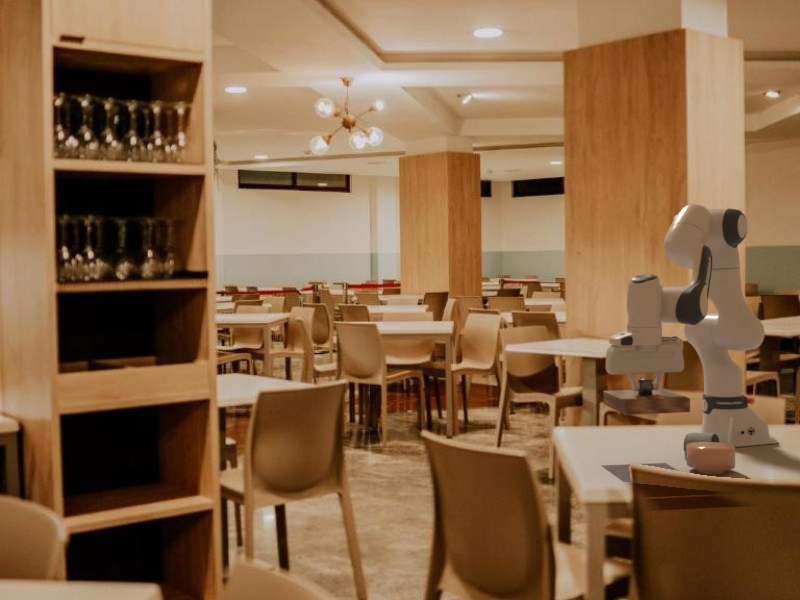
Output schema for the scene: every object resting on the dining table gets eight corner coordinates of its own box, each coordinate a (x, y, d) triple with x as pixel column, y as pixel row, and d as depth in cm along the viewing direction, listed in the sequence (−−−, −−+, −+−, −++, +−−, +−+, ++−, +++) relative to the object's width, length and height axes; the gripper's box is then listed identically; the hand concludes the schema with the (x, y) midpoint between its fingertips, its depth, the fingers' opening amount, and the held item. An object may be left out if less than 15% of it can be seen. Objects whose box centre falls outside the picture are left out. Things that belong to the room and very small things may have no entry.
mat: (665, 464, 253) (665, 462, 253) (692, 480, 235) (692, 478, 235) (601, 467, 251) (600, 465, 251) (623, 483, 233) (623, 481, 233)
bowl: (722, 466, 249) (722, 441, 249) (743, 477, 238) (743, 450, 237) (679, 468, 248) (679, 442, 248) (698, 479, 236) (698, 452, 236)
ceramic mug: (692, 454, 265) (692, 428, 264) (720, 458, 259) (720, 431, 259) (677, 462, 257) (677, 434, 256) (706, 466, 251) (706, 438, 251)
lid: (664, 401, 252) (664, 373, 251) (690, 412, 235) (689, 382, 234) (603, 403, 250) (603, 376, 250) (624, 415, 233) (624, 385, 233)
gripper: (678, 334, 246) (678, 386, 246) (603, 337, 244) (603, 390, 244) (687, 337, 239) (688, 390, 240) (610, 340, 237) (611, 393, 238)
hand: (645, 390), depth 242 cm, fingers closed on lid, 4 cm apart
